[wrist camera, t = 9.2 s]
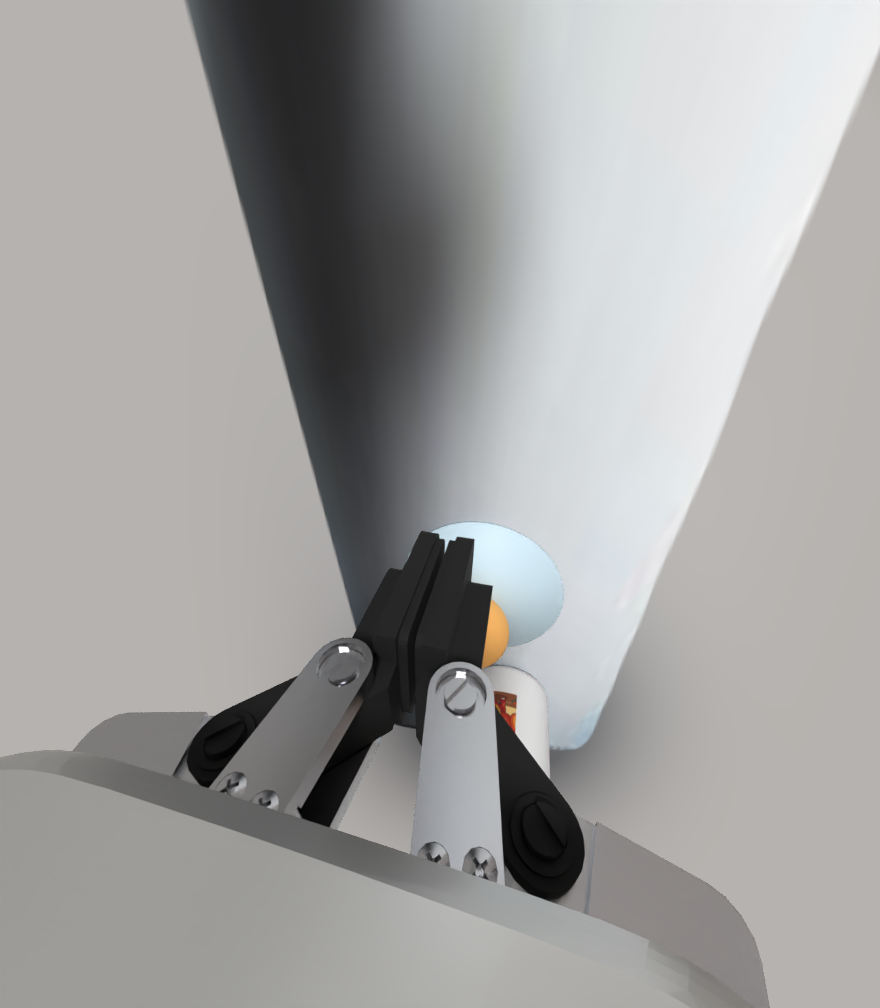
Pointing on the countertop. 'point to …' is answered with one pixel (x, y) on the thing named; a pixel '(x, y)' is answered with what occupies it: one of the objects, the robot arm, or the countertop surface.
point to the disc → (513, 576)
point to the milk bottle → (523, 709)
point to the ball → (495, 635)
